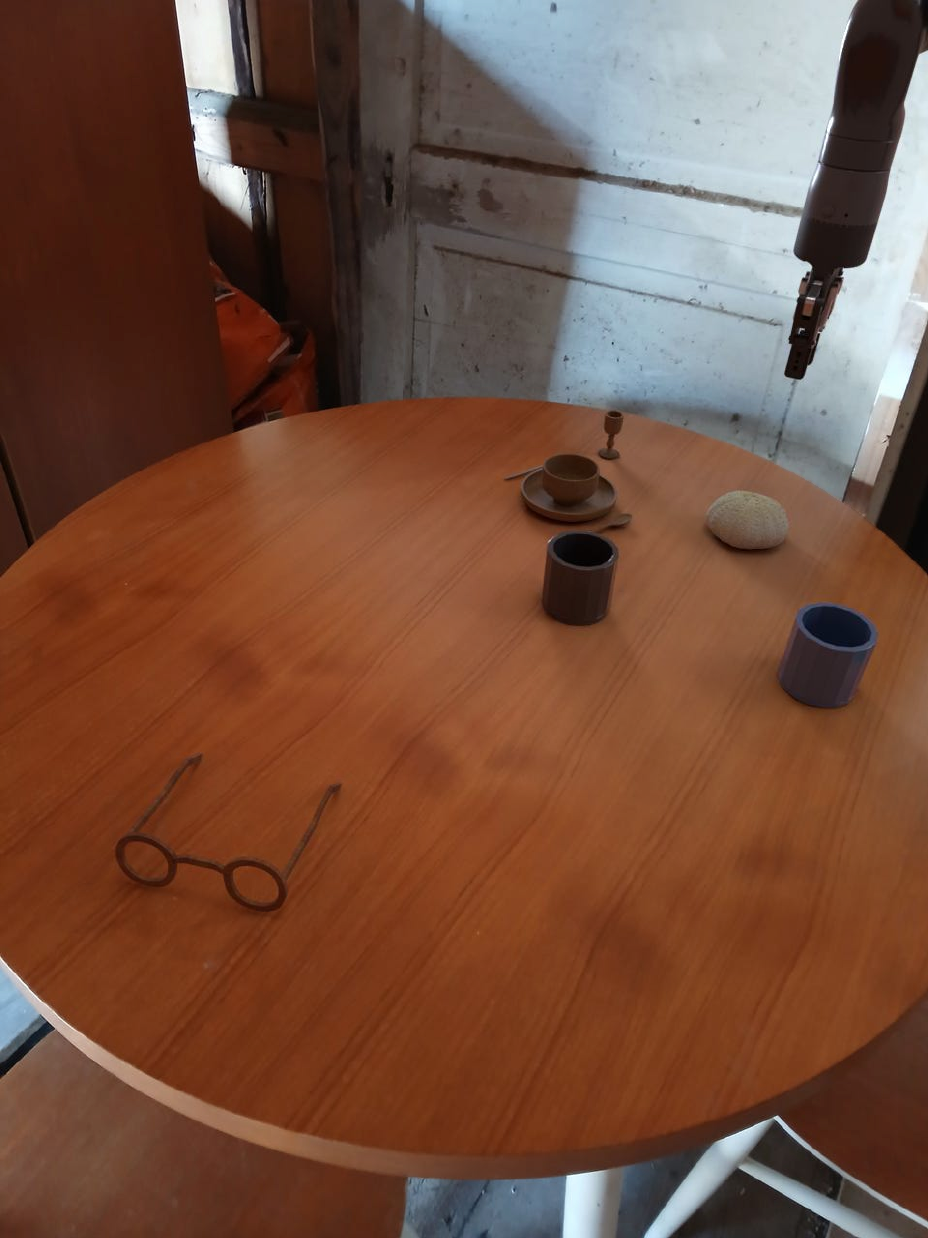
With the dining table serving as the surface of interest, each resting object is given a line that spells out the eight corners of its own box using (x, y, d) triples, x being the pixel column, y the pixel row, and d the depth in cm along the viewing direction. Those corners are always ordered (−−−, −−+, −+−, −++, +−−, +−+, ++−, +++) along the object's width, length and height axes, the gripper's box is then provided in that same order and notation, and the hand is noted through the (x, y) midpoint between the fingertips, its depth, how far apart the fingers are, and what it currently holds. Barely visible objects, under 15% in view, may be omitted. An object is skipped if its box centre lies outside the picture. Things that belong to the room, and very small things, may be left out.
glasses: (119, 882, 67) (105, 839, 64) (198, 756, 77) (189, 714, 74) (286, 921, 65) (280, 878, 62) (345, 786, 75) (342, 744, 72)
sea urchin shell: (728, 489, 112) (780, 465, 106) (757, 545, 113) (810, 525, 106) (686, 515, 107) (738, 491, 100) (716, 574, 107) (770, 554, 101)
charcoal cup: (618, 596, 97) (628, 542, 93) (594, 633, 92) (603, 577, 88) (557, 577, 100) (563, 523, 95) (530, 611, 95) (536, 556, 90)
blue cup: (859, 673, 89) (882, 617, 84) (848, 718, 84) (871, 660, 79) (785, 649, 91) (804, 594, 87) (770, 692, 86) (788, 635, 82)
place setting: (487, 481, 116) (489, 439, 112) (607, 446, 125) (613, 406, 121) (572, 547, 104) (578, 503, 101) (697, 503, 113) (706, 460, 110)
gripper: (869, 233, 87) (819, 400, 98) (887, 202, 97) (841, 356, 108) (790, 221, 90) (750, 385, 100) (816, 192, 100) (778, 343, 110)
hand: (798, 369), depth 104 cm, fingers open, 4 cm apart
